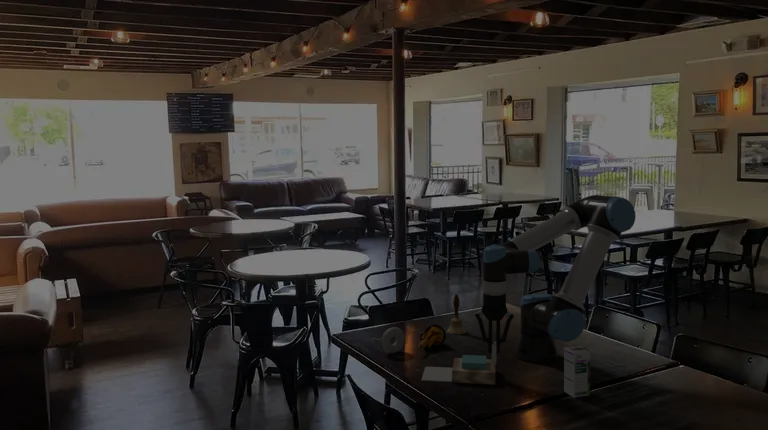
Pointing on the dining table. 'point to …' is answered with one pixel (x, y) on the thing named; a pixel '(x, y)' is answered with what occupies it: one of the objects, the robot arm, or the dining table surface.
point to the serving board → (473, 373)
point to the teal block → (473, 362)
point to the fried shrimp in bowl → (432, 337)
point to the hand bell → (456, 320)
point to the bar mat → (437, 374)
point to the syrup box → (577, 371)
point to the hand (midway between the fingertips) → (494, 362)
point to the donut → (387, 340)
